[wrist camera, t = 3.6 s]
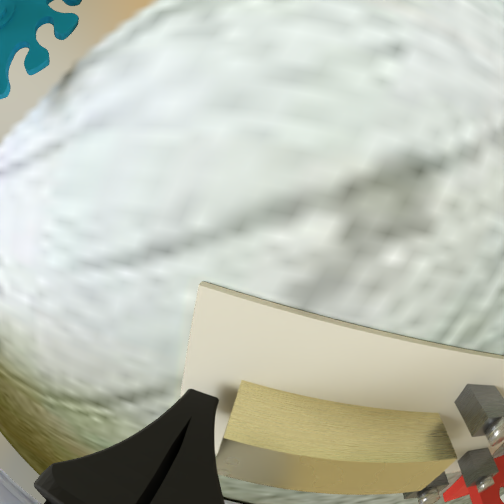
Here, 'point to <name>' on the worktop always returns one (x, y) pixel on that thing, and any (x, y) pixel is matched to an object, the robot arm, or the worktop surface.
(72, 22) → the gear
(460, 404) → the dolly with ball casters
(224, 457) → the sanding block
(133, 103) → the worktop surface
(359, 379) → the mat
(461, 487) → the bracket
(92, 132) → the worktop surface
